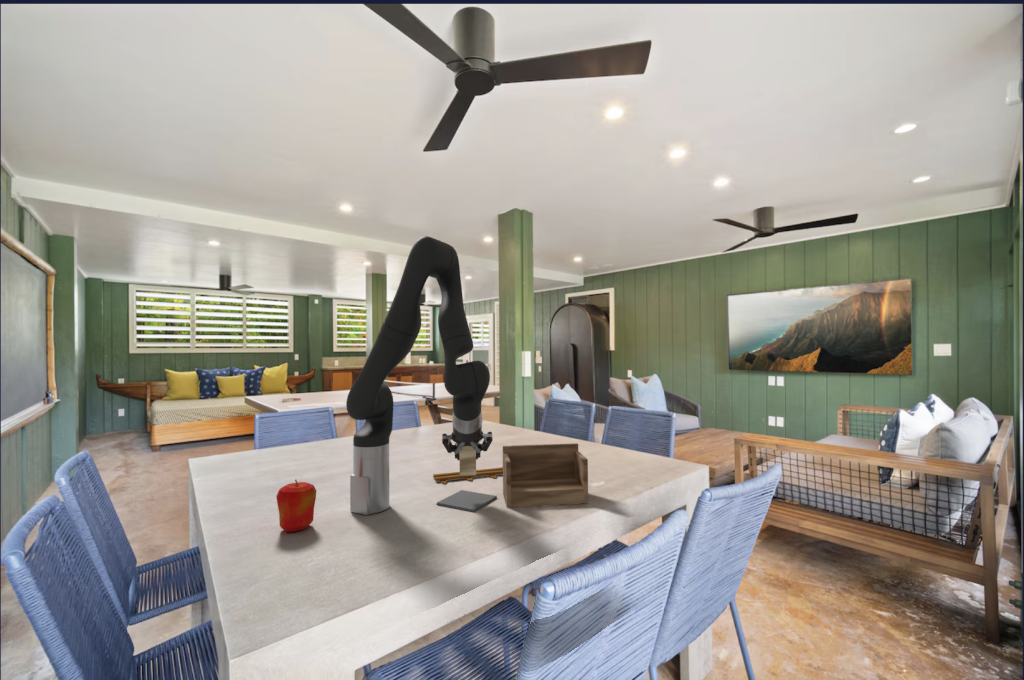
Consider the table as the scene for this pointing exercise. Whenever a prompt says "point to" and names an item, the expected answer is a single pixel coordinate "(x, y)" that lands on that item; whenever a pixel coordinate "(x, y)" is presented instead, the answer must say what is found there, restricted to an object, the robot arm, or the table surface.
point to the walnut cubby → (544, 475)
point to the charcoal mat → (467, 500)
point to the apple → (296, 506)
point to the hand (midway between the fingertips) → (467, 456)
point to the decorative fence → (456, 475)
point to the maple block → (467, 461)
